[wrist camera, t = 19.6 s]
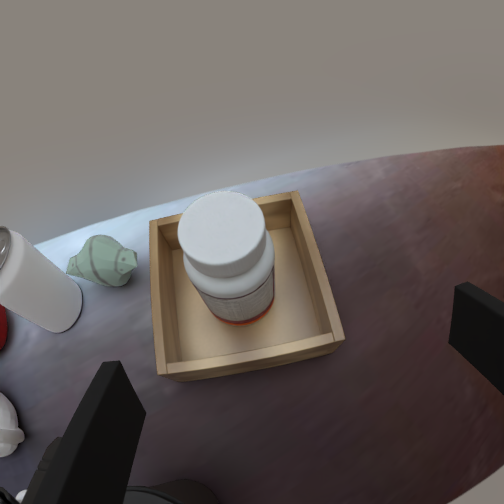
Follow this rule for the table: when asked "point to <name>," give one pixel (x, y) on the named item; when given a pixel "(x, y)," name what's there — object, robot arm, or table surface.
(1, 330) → the apple
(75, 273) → the green rounded faceted piece
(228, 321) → the pill bottle
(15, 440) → the cat figurine
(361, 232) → the table surface
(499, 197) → the table surface
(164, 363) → the holder
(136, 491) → the coffee cup
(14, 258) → the can
